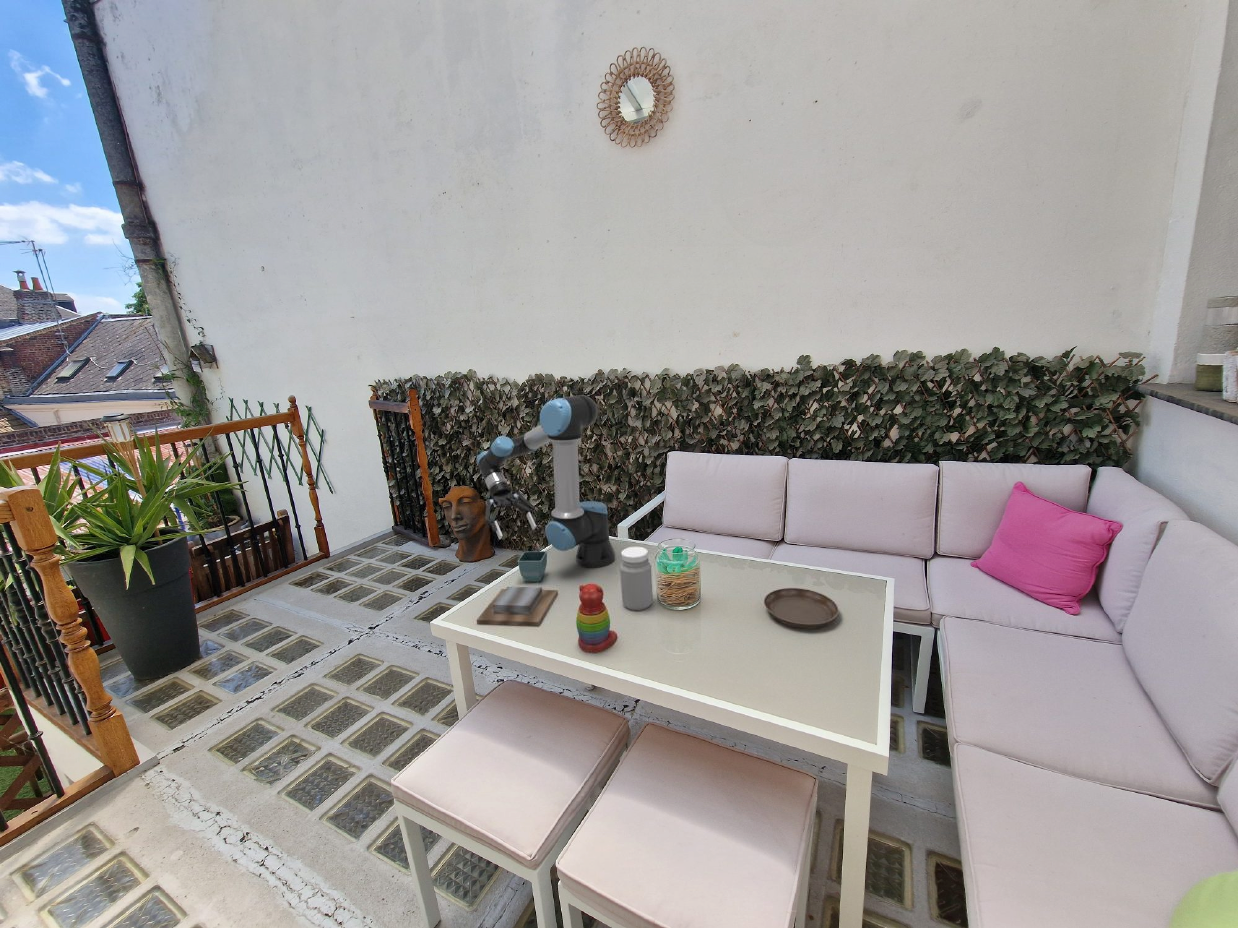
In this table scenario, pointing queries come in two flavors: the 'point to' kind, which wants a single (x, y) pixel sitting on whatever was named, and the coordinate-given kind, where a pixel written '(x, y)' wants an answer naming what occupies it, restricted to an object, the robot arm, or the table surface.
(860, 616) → the table surface
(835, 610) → the plant saucer
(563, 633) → the table surface
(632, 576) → the jar
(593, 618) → the stacking bear
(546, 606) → the build base
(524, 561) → the flower pot
